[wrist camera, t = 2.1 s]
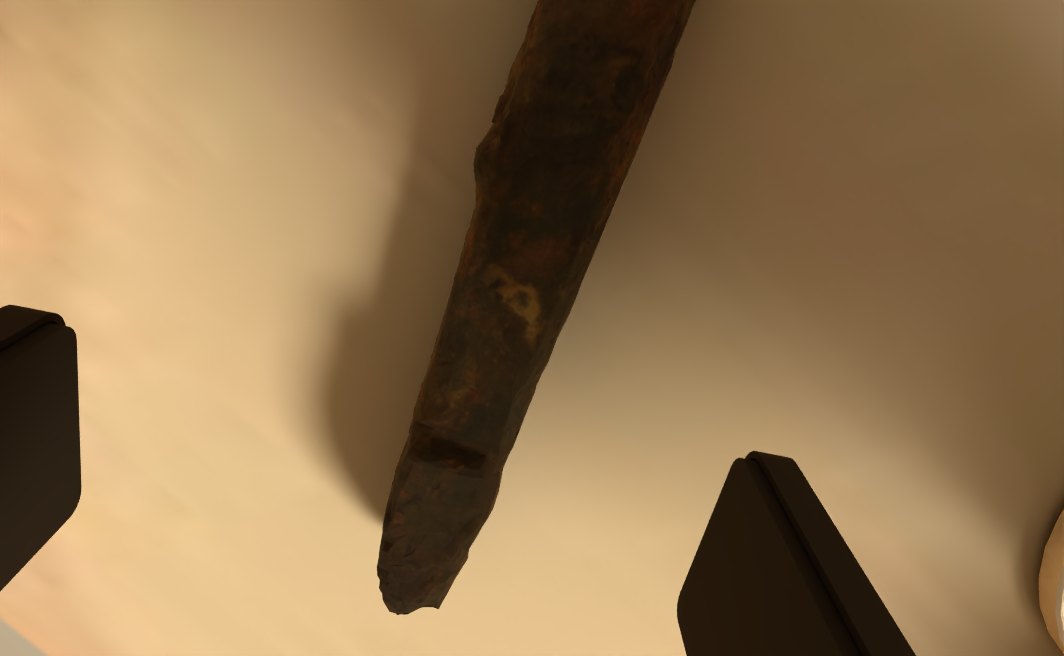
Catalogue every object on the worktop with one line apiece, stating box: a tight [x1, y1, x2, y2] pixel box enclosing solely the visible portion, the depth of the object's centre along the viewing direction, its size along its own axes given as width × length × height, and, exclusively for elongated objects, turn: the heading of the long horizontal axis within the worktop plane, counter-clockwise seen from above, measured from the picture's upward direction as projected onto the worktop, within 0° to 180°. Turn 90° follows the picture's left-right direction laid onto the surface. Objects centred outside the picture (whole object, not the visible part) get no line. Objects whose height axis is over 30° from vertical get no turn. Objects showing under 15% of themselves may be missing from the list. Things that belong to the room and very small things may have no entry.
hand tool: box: [377, 0, 695, 615], centre depth 17 cm, size 19×4×5 cm, turn 158°
